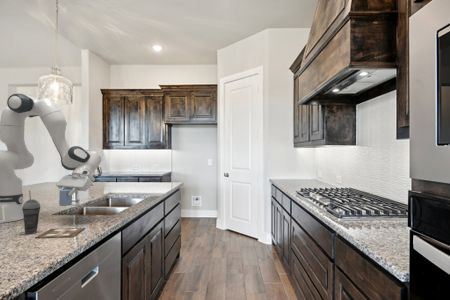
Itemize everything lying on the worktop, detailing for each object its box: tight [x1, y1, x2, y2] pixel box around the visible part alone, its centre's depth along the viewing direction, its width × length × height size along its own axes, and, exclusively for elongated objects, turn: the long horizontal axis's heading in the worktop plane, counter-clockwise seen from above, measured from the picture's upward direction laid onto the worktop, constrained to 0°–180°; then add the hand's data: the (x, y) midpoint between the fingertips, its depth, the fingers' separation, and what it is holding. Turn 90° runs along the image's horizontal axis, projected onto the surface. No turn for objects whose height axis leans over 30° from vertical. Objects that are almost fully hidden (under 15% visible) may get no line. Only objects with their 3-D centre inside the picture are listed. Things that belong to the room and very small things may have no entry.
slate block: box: [58, 189, 73, 207], centre depth 145 cm, size 4×4×8 cm
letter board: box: [34, 227, 86, 239], centre depth 130 cm, size 16×14×1 cm
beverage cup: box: [22, 190, 42, 235], centre depth 131 cm, size 7×7×20 cm
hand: (64, 195), depth 145 cm, fingers closed on slate block, 4 cm apart
